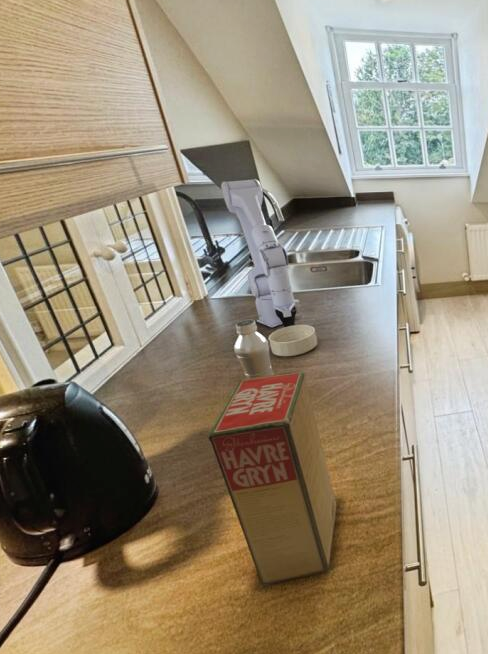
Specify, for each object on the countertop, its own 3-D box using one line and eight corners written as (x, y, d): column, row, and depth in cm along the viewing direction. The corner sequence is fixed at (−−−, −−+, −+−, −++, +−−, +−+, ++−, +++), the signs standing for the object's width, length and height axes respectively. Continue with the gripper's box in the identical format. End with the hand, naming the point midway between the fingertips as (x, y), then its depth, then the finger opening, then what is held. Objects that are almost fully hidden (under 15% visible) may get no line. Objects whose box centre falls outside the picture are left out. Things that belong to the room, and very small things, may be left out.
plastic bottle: (289, 399, 104) (269, 319, 96) (265, 415, 98) (241, 331, 90) (270, 393, 106) (248, 314, 98) (244, 408, 100) (220, 326, 93)
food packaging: (277, 512, 73) (237, 377, 63) (338, 501, 75) (308, 368, 65) (257, 588, 61) (203, 435, 51) (330, 571, 63) (292, 422, 53)
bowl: (263, 350, 127) (260, 336, 125) (302, 335, 136) (299, 321, 134) (287, 361, 121) (284, 346, 119) (326, 344, 129) (323, 330, 128)
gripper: (298, 293, 127) (307, 336, 132) (292, 279, 138) (301, 320, 144) (270, 297, 124) (281, 342, 129) (267, 283, 135) (277, 325, 141)
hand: (290, 331), depth 136 cm, fingers closed
